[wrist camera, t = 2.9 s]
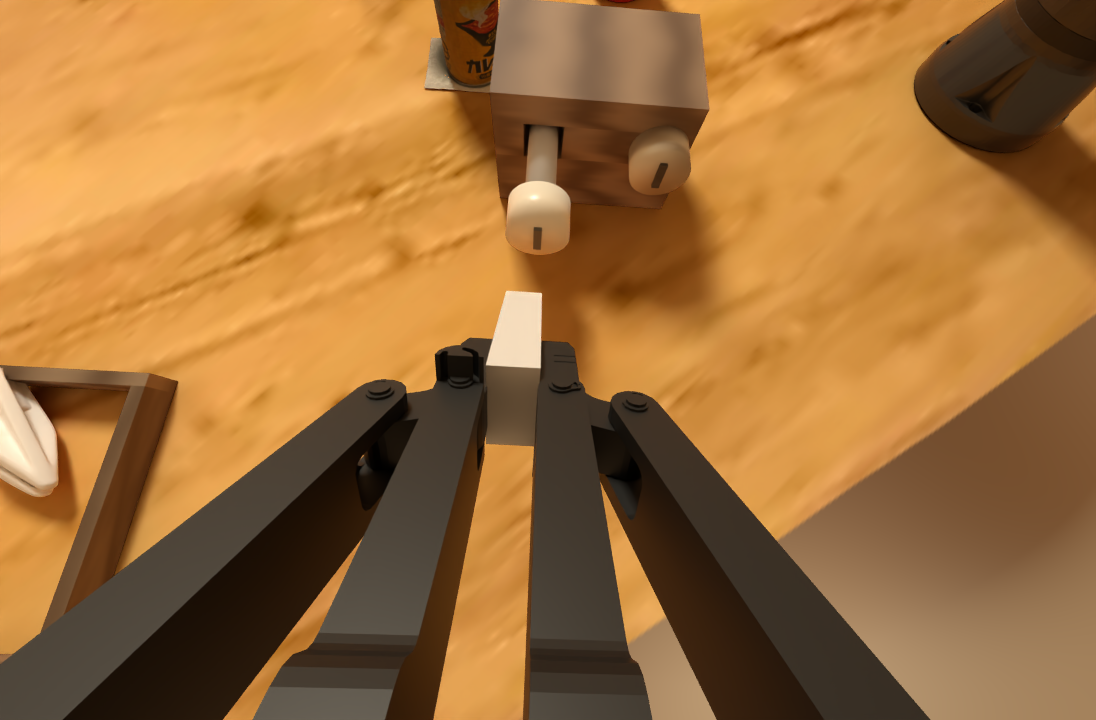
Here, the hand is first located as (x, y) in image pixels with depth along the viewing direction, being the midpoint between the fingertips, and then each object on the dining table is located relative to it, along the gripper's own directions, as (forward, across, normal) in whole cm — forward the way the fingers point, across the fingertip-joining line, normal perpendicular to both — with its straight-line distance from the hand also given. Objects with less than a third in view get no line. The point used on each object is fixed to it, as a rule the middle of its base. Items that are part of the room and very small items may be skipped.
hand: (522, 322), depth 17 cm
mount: (+28, +4, +5) cm, 29 cm away
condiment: (+38, -9, +14) cm, 42 cm away
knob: (+21, 0, +4) cm, 22 cm away
